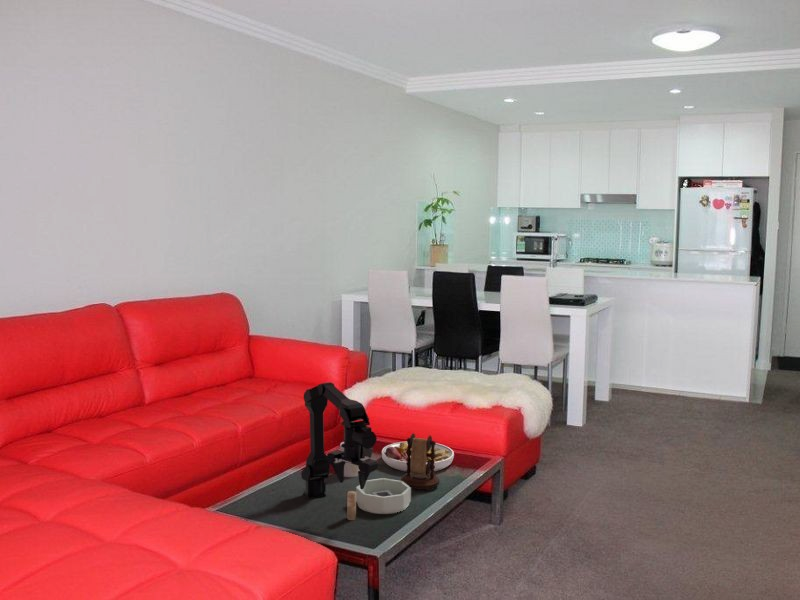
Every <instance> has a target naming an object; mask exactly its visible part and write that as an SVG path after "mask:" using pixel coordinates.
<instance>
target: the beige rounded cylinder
mask: <svg viewBox="0 0 800 600" xmlns="http://www.w3.org/2000/svg"><path fill="white" fill-rule="evenodd" d="M346 498H347V499H346V500H347V501H346V502H347V503H346V507H347V508H346V519H347V520H348V521H355V520H356V519H357V501H356V490H349V491H347V494H346Z"/></svg>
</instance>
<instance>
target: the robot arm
mask: <svg viewBox="0 0 800 600" xmlns="http://www.w3.org/2000/svg"><path fill="white" fill-rule="evenodd" d="M303 402H304V406H305V408H306V409H307V411H308V413H309V435H310V436H309V439H310V440H309V441H310V452H309V454H308V456H307V458H306V461H305V462H306V463H305V467H304V468H303V470H302V471H301V472H300V473H301V479H302V480H304V481H305V491H304V492H303V493H304V495H305V496H306V497H307V498H308V499H317V498H323V497H324V498H325V497H326V496H327V495H326V491H327V489H326V488H327V487H326V486H327V485H326V483H327V482H326V481H325V479H328V478H329V475H330V471H331V468H332V469H333V471H334V472H335V474H336V476H337V479H338V480H339V483H341V484H342V483H344V478H345V477H344V465H345V463H346V462H348V463H351V464H354V465H358V468H359V470H360V471H358V476H357V477H358V482H359V485H360V488H361V489H364V486H365V484H366V481H367V480H368V478H369V476H370V474H371V473H373V472H375V471H377V470H379V462H378V460H375V459H372V454H373V450H374V449H373V447H374V446H376V443H377V439H378V438H377V434H375V432H374V431H372V427H370V425H371V423H370V417H369V416H368V414H367V411H366V408H365V406H364V405H363V403H361V402H359V401H358V400H355V399H350V398H348V397H347V396H346V395H345V394H344V393H343V392H342V391H341V390H340V389H339V388H338V387H336V386H335V384H334V383H333V382H331V381H329V382H328V381H327V382H322V383H319V384H318V385H316V386H314V387H312V388H307V389H306V390H305V391H304V393H303ZM328 403H331V404H332V405H333V406H335V407H336V408H337V409H338V411H339V414H338V415H339V416H340V418H341V419H342V422H341V423H340V424H341V425H342V426H343V442H344V443H343V444H341V443H340V444H341V447H343V448H344V451H340V449H335V450H332V451H329V452H327V454H326V452H325V434H324V433H325V431H324V430H325V428H324V425H325V424H324V422H325V421H324V412H325V411H326V408H327V406H328ZM366 457H367V459H365V458H366ZM363 459H364V460H363Z"/></svg>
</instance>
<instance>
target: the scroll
mask: <svg viewBox="0 0 800 600" xmlns="http://www.w3.org/2000/svg"><path fill="white" fill-rule="evenodd" d="M406 441H407V442H408V443H407V444H408V446H407V449H408V450H407V451H406V454H407V456H408V457H407V463H406V465H407V471H405V472H406V473H405V474H403V475H402V476H401V477H400V481H403V482H404V483H405V484H407V485H408V486H409V487H410V488H411V489H418V490H419V489H421V490H423V489H424V490H425V489H426V491H427V492H429V491H430V489H431V488H436V487H437V486H439V484H440V478H439V477H438V476H437V475H435V471H434V470H433V469H435V466H434V463H435V462H434V459H435V456H436V454H435V453H434V452H435V449H434V447H435V444H436V443H437V442H436V441H435V440H433V438H432V435H428V437H427V438H421V437H420V438H419V437H416V434H415V433H414V432H413V433H411V435H410V437H407V438H406ZM431 445H432V446H431ZM431 447H432V449H431V452H432V453H430V454H429V453H426V452H429V450H430V448H431ZM410 449H411V450H410ZM410 456H411V458H410ZM429 456H430V458H431V459H429V460H428V462H427V464H426V457H429ZM430 471H431V472H430Z"/></svg>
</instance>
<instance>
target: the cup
mask: <svg viewBox="0 0 800 600" xmlns="http://www.w3.org/2000/svg"><path fill="white" fill-rule="evenodd" d="M343 443H344V441H342V442H340V445H339V450H340V451H344V448H343V447H341V444H343ZM358 471H360V470H359V468H358V465H354V464H351V463H348V462H346V463H345V465H344V478H356V477H359V476H358Z"/></svg>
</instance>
